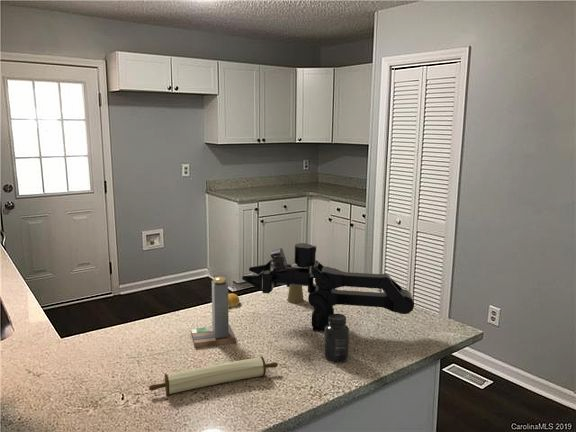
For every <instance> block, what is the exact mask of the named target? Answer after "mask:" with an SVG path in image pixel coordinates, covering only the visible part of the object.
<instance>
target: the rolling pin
mask: <svg viewBox="0 0 576 432" xmlns="http://www.w3.org/2000/svg"><path fill="white" fill-rule="evenodd" d="M277 367H278V363H277V362H269V363H266V361H265V358H264V357H263V355H262V356H261V355H260V356H259V357H255V358H247V359H241V360H235V361H229V362H225V363H219V364H213V365H207V366H202V367H197V368H192V369H187V370H182V371H178V372H172V373H169V374H168V373H164V382H163V383H156V384H155V383H154V384H151V385H150V386H149V387H148V390H149V392H151V391H155V390H160V389H162V388H165V396H169V395H171V394H175V393H176V394H177V393H180V392H186V391H188V390H189V391H190V390H193V389H198V388H204V387H209V386H213V385H218V384H219V385H220V384H222V383H228V382H234V381H239V380H245V379H250V378H251V379H252V378H256V377H265V376H266V374H267V369H270V368H271V369H273V368H277Z"/></svg>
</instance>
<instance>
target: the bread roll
mask: <svg viewBox="0 0 576 432" xmlns="http://www.w3.org/2000/svg"><path fill="white" fill-rule="evenodd" d="M239 304H240V297H239V296H238V295H237V294H236V293H233V292H232V293H228V308H230V307H231V308H234V307H237V306H238V305H239Z"/></svg>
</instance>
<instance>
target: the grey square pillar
mask: <svg viewBox="0 0 576 432" xmlns="http://www.w3.org/2000/svg"><path fill="white" fill-rule="evenodd" d="M228 294H229V284H228V281H227V278H226V277H225V276H216V277H213V279H212V280H211V311H212V312H211V318H212V319H211V321H212V322H211V323H212V326H211V327H212V329H213V334H214V337H215V338H220V337H229V325H230V324H229V307H228Z"/></svg>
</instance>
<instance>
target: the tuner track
mask: <svg viewBox="0 0 576 432" xmlns="http://www.w3.org/2000/svg"><path fill="white" fill-rule="evenodd" d="M190 334H191V339H192V342H193V347H194V349H195V348H204V347H211V346H220V345H228V344H229V345H230V344H236V343H237V342H236V341H237V340H236V339H237V338H236V335H235V333H234V331H233V329H232V327H231V325H230V324H229V337H220V338H215V337H214V334H213V329H212V326H205V327H196V328H190Z"/></svg>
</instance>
